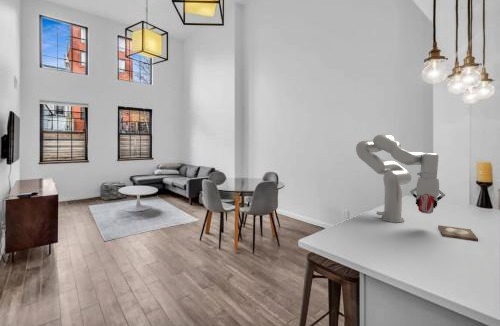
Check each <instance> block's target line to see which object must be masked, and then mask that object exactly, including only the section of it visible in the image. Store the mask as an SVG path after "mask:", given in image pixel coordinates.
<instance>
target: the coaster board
mask: <svg viewBox="0 0 500 326" xmlns="http://www.w3.org/2000/svg"><path fill="white" fill-rule="evenodd" d="M437 227H438V230H439V231H440V234H441V236H442V237H445V238H454V239H459V240H466V241H467V240H468V241H472V242H473V241H476V242H479V238H478V237H477V235H476V234H475V233H474V232H473V231H472V229H471V228H463V227H454V226H448V225H447V226H446V225H439V224H438V226H437Z"/></svg>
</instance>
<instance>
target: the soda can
mask: <svg viewBox="0 0 500 326" xmlns="http://www.w3.org/2000/svg"><path fill="white" fill-rule="evenodd" d="M426 193H428V192H426ZM434 209H435V208H434V197H432V196H431V195H430V194H424V195H422V196H421V195H420V197H419V206H417V210H418V212H420V213H421V214H427V215H429V214H432V213H434Z"/></svg>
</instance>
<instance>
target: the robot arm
mask: <svg viewBox="0 0 500 326" xmlns="http://www.w3.org/2000/svg"><path fill="white" fill-rule="evenodd" d="M401 146H402V145H401V142H399V141H398V140H396V139H395V137H394V136H393V135H391V134H378V135H375V136H374V137H373V139H372V140H361V141H359V142H358V143H357V144H356V146H355V152H356V155H357V156H358V158H359V159H360V160H361V161H362V162H364V163H365V164H366V165H367V166H368V167H370V169H372V170H373V171H374V172H376V174H378V175H379V176H380V175H383V176H382V177H383V186H384V203H383V205H384V206H383V208H384V210H383V211H376V215H377V216H380V217H381V219H382V220H383V221H386V222H391V223H403V222H405V219H404V217H403V216H402V210H403V209H402V204H403V191H402V188H401V185H408V184H409V183H410V182H411V181H412V174H411V173H410V172H409V171H408V170H407V169H405V167H403V166H402V165H405V166H420V171H419V172H417V176H419V177H418V179H417V182H416V187H415V188H413V189H411V190H410V191H409V193H410V194H411V195H412V196H413V197H414V198H415V204H416V205H417V206H416V207H418V206H419V197H420V195H421V196H422V195H424V194H430V195H431V196H432V197H434V209H436V208H438V207H437V206H438V202H439V201H441V200H442V198H445V196H446V194H445V193H444V192H443V191H442V190H440V180H439V178H438V167H439V155H438V153H432V152H421V151H408V150H406V149H403V148H401ZM381 151H384V152H386V153H388V154H390V156H391V157H392V158H393V159H394V160H392V159H390V160H389V159H387V160H384V159H382V158H380V157H379V156H378V155H376V153H377V152H381ZM395 160H396V161H395ZM400 163H401V164H402V165H400ZM414 192H415V193H414ZM426 192H428V193H426Z"/></svg>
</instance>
